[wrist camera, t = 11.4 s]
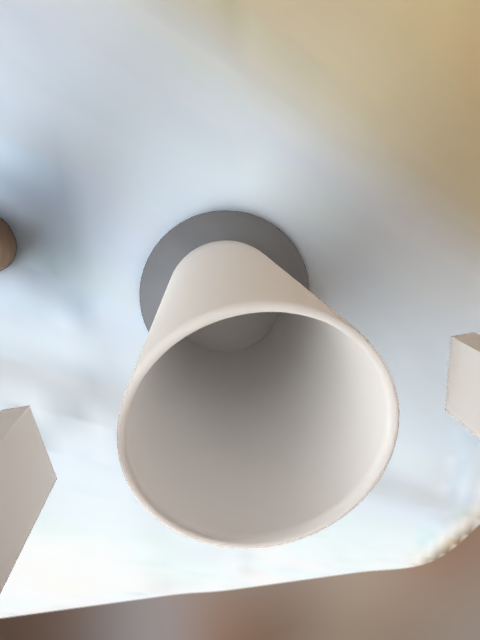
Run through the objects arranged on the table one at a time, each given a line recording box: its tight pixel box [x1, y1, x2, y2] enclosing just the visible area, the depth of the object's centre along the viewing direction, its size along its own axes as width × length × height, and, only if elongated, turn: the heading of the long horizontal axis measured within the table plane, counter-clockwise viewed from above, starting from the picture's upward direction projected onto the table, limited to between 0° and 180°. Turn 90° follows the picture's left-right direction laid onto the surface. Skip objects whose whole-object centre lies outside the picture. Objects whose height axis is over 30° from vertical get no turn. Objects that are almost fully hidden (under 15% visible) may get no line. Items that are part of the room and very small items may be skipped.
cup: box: [117, 240, 399, 549], centre depth 18 cm, size 8×8×16 cm
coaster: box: [140, 211, 309, 331], centre depth 26 cm, size 12×12×1 cm
